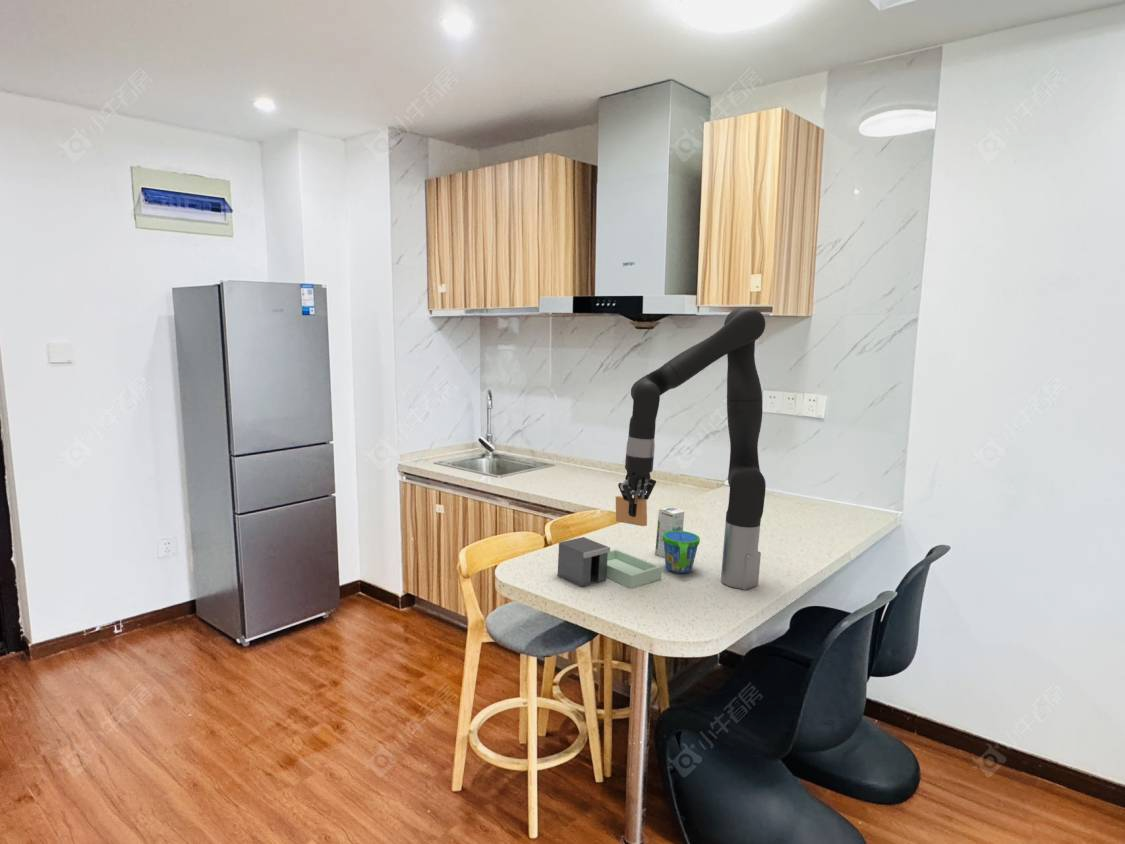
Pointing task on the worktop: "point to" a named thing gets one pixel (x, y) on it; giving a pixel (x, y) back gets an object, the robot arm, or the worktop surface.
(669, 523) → the syrup box
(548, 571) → the worktop surface
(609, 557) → the tray
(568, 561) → the box
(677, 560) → the snack cup
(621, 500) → the brown rectangular block
